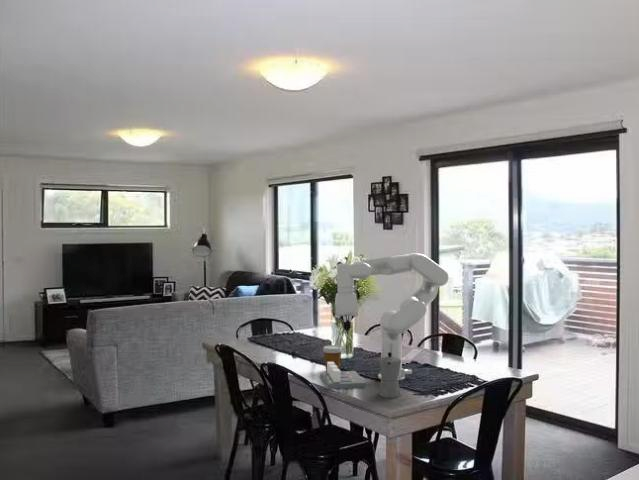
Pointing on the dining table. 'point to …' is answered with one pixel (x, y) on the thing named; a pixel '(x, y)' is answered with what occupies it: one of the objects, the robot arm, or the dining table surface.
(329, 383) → the grey flat slab
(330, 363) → the breaker
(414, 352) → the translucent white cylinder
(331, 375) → the breaker
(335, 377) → the breaker
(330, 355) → the disposable coffee cup
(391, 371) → the coffeepot
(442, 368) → the dining table surface
